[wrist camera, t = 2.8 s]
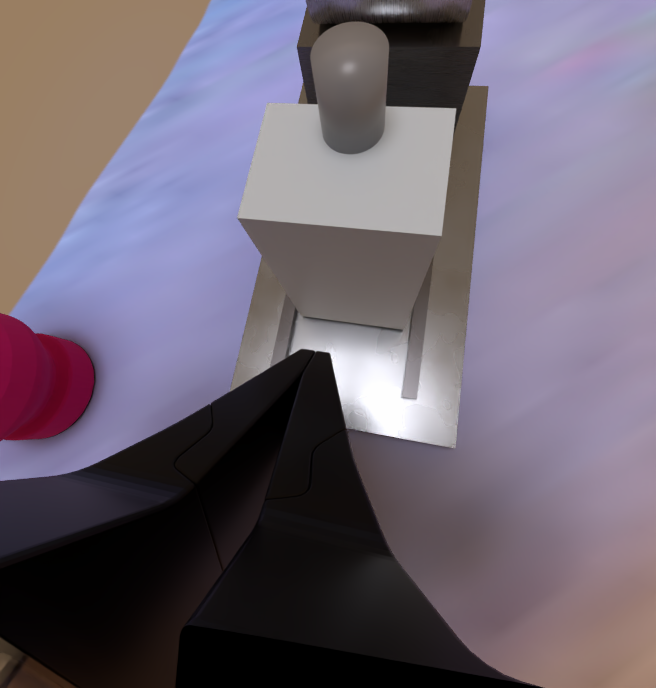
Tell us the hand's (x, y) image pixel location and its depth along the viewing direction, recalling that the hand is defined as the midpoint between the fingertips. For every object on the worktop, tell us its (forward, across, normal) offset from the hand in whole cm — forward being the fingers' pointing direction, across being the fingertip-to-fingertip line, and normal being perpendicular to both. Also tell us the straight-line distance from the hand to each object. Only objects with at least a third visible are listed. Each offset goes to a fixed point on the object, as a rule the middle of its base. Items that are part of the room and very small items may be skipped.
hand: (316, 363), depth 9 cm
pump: (+9, 0, +1) cm, 10 cm away
